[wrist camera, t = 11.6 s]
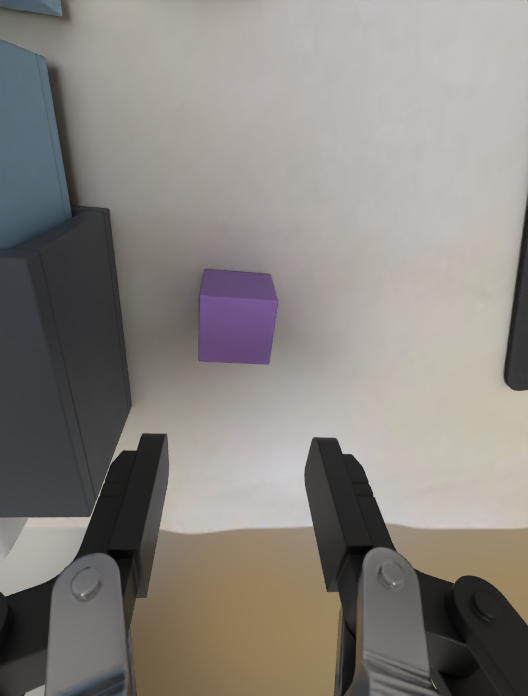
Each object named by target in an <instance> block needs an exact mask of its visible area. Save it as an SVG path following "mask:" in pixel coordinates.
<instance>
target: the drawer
mask: <svg viewBox="0 0 528 696" xmlns="http://www.w3.org/2000/svg"><path fill="white" fill-rule="evenodd" d="M0 7H5V8H11V9H18V10H24V11H30V12H37V13H43V14H49V15H56V16H62V7H61V0H0ZM71 218H72V213H71V207H70V201H69V195H68V189H67V183H66V177H65V171H64V165H63V160H62V154H61V148H60V142H59V136H58V130H57V124H56V118H55V112H54V106H53V101H52V95H51V89H50V83H49V77H48V71H47V65H46V59H45V58H44V57H43V56H40V55H38V54H35V53H33V52H30V51H28V50H25V49H23V48H20V47H18V46H15V45H13V44H11V43H8V42H6V41H3V40H1V39H0V249H13V248H15V247H17V246H19V245H21V244H23V243H25V242H26V241H28V240H30V239H32V238H34V237H36V236H38V235H40V234H42V233H44V232H46V231H48V230H49V229H51V228H53V227H55V226H57V225H59V224H61V223H63V222H65V221H67V220H69V219H71Z"/></svg>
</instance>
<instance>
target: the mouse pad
mask: <svg viewBox="0 0 528 696" xmlns="http://www.w3.org/2000/svg"><path fill="white" fill-rule="evenodd" d="M505 379H506V383H507V385H508V386H509V387H510V388H511V389H513V390H517V391H523V390H528V216H527V223H526V230H525V237H524V244H523V251H522V258H521V265H520V273H519V280H518V287H517V294H516V301H515V308H514V316H513V323H512V330H511V337H510V344H509V351H508V358H507V366H506V373H505Z"/></svg>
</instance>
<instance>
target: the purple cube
mask: <svg viewBox="0 0 528 696" xmlns="http://www.w3.org/2000/svg"><path fill="white" fill-rule="evenodd" d="M277 305H278V300H277V296H276V292H275V289H274V285H273V281H272V278H271V275H270V274H261V273H248V272H235V271H222V270H209V269H205V270H204V275H203V280H202V285H201V290H200V295H199V355H198V360H199V361H204V362H226V363H247V364H269V362H270V355H271V348H272V341H273V334H274V327H275V319H276V312H277Z"/></svg>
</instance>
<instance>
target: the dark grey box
mask: <svg viewBox="0 0 528 696" xmlns="http://www.w3.org/2000/svg"><path fill="white" fill-rule="evenodd" d="M70 207H71V213H72V218H71V219H69V220H67V221H65V222H63V223H61V224H59V225H57V226H55V227H53V228H51V229H49V230H48V231H46V232H44V233H42V234H40V235H38V236H36V237H34V238H32V239H30V240H28V241H26V242H25V243H23V244H21V245H19V246H17V247H15V248H13V249H0V518H14V517H90V516H91V513H92V511H93V508H94V505H95V501H96V500H97V497H98V495H99V492H100V489H101V487H102V484H103V481H104V479H105V476H106V473H107V471H108V468H109V465H110V463H111V460H112V457H113V454H114V452H115V449H116V446H117V444H118V441H119V438H120V436H121V433H122V430H123V428H124V425H125V422H126V419H127V417H128V414H129V412H130V409H131V406H132V404H131V396H130V387H129V379H128V370H127V361H126V353H125V344H124V336H123V327H122V318H121V310H120V301H119V293H118V284H117V275H116V267H115V258H114V250H113V241H112V232H111V224H110V215H109V209H106V208H96V207H85V206H75V205H70Z"/></svg>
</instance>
